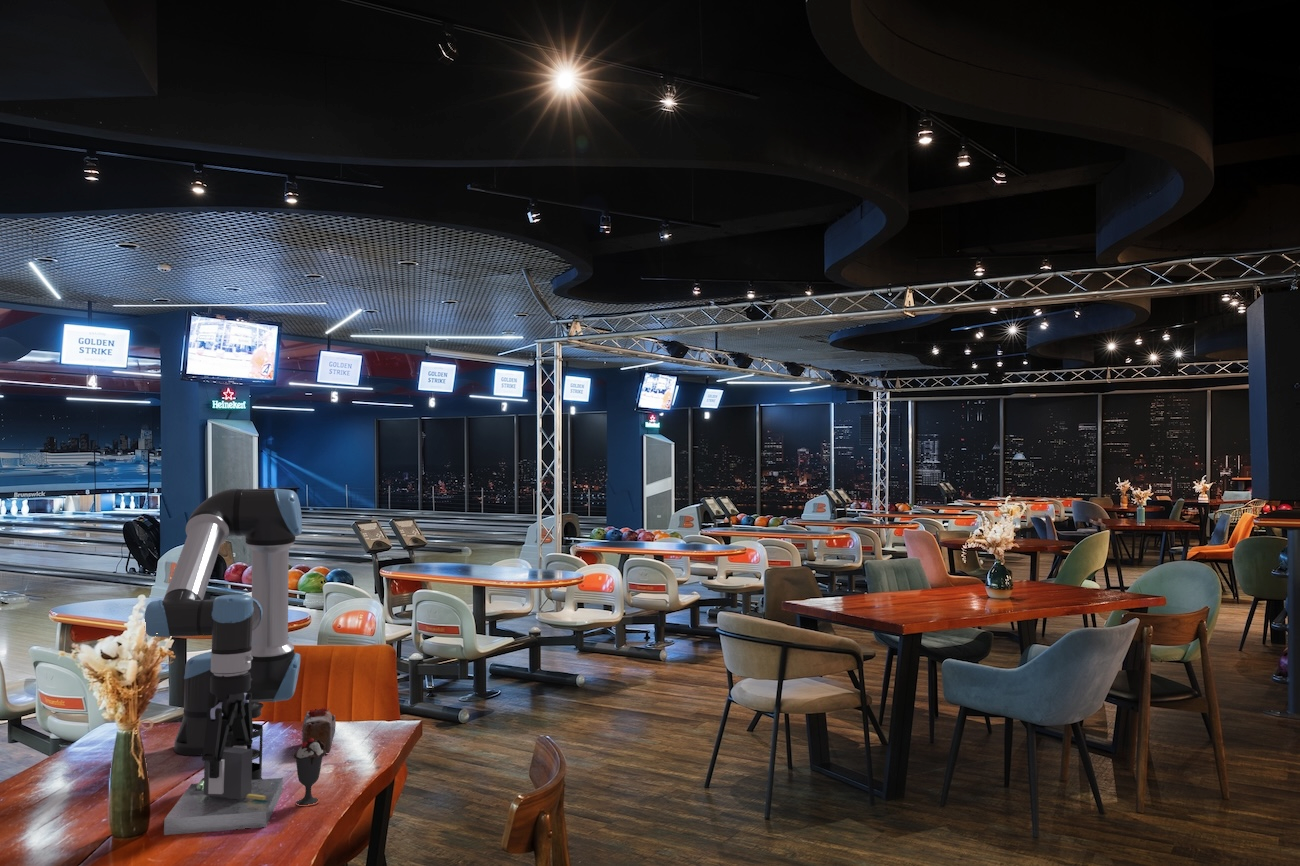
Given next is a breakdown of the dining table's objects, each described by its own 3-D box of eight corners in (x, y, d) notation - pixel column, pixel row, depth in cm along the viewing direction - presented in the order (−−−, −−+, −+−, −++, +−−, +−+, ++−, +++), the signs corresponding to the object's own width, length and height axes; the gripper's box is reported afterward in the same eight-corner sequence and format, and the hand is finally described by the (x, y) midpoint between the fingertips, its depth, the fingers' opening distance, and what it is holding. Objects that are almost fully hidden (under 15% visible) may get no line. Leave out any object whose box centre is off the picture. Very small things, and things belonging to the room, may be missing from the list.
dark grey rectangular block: (203, 794, 184) (205, 749, 184) (214, 789, 187) (215, 745, 187) (259, 802, 180) (260, 755, 181) (269, 796, 183) (271, 751, 183)
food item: (301, 742, 233) (302, 703, 233) (334, 739, 235) (335, 700, 236) (300, 757, 220) (301, 716, 220) (335, 754, 222) (336, 713, 223)
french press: (255, 791, 196) (258, 683, 197) (209, 793, 195) (212, 684, 196) (268, 773, 208) (271, 671, 209) (224, 775, 206) (227, 672, 207)
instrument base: (191, 798, 192) (191, 775, 192) (282, 792, 196) (282, 769, 196) (163, 835, 172) (164, 809, 172) (265, 827, 176) (266, 802, 177)
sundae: (292, 810, 185) (294, 735, 186) (289, 800, 191) (291, 727, 192) (327, 805, 188) (328, 731, 189) (322, 795, 194) (324, 723, 195)
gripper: (222, 684, 175) (218, 804, 173) (273, 661, 196) (270, 769, 195) (183, 683, 175) (180, 803, 174) (238, 661, 196) (235, 768, 195)
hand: (227, 785), depth 184 cm, fingers open, 8 cm apart
